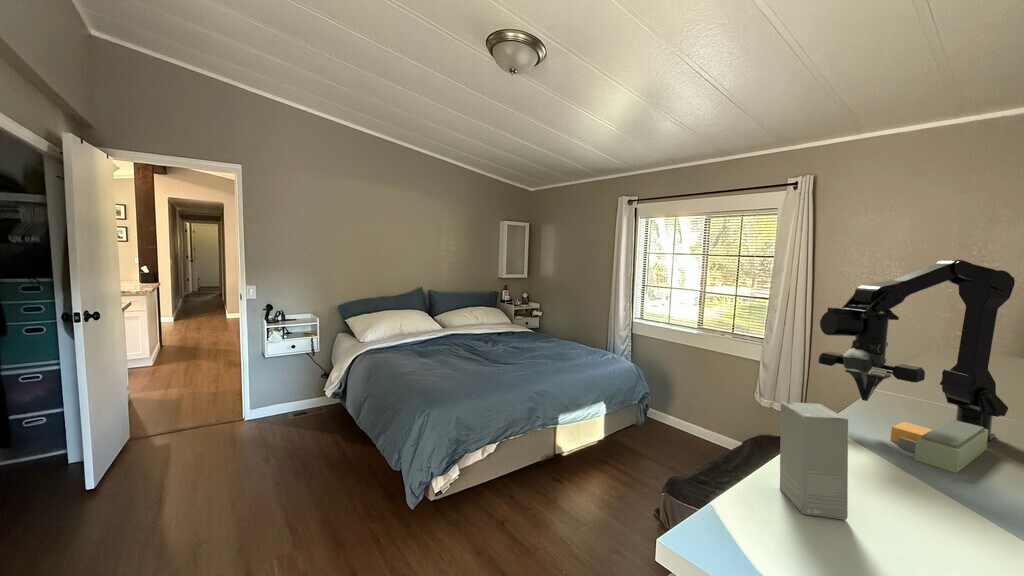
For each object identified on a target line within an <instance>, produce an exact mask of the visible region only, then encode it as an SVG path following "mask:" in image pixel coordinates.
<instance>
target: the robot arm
mask: <svg viewBox="0 0 1024 576" xmlns="http://www.w3.org/2000/svg"><path fill="white" fill-rule="evenodd" d="M947 281H948V282H949V283H951V284H953V285H955V286H957V287H958V295H959V297H960V298H961V300H962V302H963V303H964V305H965V310H964V316H963V323H962V329H961V336H960V341H959V346H958V347H959V348H958V355H957V360H956V364H954V366H952V368H950V369H943V370H942V373H941V374H942V375H941V380H940V383H939V386H941V391H942V393H943V394H944V397H945V400H946V402H947V403H948V404H952V405H954V406H956V417H955V420H957V421H961V422H965V423H969V424H973V425H977V426H981V427H984V429H987V430H988V439H987V442H990V441H992V440H993V439H995V438H996V436H997V435H996V433H992V426H993V417H997V418H998V417H1005V416H1006V415H1007V412H1008V410H1009V407H1008V406H1007V405H1006V403H1005V402H1003V400H1002V399H1001V398H1000V397H999V396H998V395H997V390H996V389H997V383H996V381H995V380H994V379H995V378H993V375H992V374H991V372H990V370H989V364H990V358H991V353H992V352H991V351H992V347H993V346H992V345H993V340H994V335H995V334H994V333H995V328H996V327H995V326H996V321H997V314H998V310H999V309H1000V307H1002V305H1004V304H1005V303H1006V302H1007V301H1008V300H1009V299H1010V298H1011V296H1012V292H1013V290H1014V288H1015V282H1016V281H1015V278H1014V276H1012V275H1011V274H1010V273H1009V272H1008V271H1007V270H1002V269H1000V270H999V269H995V268H989V267H986V266H981V265H979V264H978V265H977V264H974V263H971V262H969V261H966V260H963V259H941V260H939V261H937V262H935V263H934V264H932V265H931V264H930V265H928V266H926V267H924V268H920V269H918V270H915V271H913V272H909V273H908V274H905V275H902V276H900V277H897V278H895V279H891V280H886V281H879V282H878V281H876V282H872V283H867V284H863V285H860V286H858V287H856V289H855V290H854V293H853V295H852V296H851V297H850V298H849V299H848V300H847V301H846V303H845V304H844V305H843V306H842V307H841V308H840V307H832V306H829V307H827V312H825V313H824V314H823V315H822V317H821V319H819V320H820V321H819V325H820V329H821V331H822V332H823V334H824V335H826V336H835V337H837V336H838V337H839V336H840V337H854V340H852V344H851V347H850V348H849V349H847V351H845V352H844V353H842V352H841V353H840V352H836V351H826V352H822V353H820V354H819V355H818V361H817V362H818V364H820V365H824V366H830V367H833V366H834V365H837V364H838V365H843V367H844V370H845V371H844V372H845V373H847V374H849V375H850V376H851V377H852V378H853V379H854V381H855V384H856V386H857V389H858V392H859V395H860V398H861V400H862V401H865V402H868V401H869V399H870V398H871V396H872V395H873V393H874V392H875V390H876V389H877V388H878V386H879V385H880V384H881V383H882V381H883V380H885V379H889V378H891V377H892V376H893V377H894V378H895V379H896V380H900V381H905V382H911V383H918V382H922V381H925V376H926V371H925V370H924V369H923V367H921V366H916V365H911V364H903V363H902V364H898V365H894V366H893V365H888V364H887V358H886V352H887V347H888V345H889V342H887V341H888V339H887V338H888V332H889V330H888V329H889V328H888V327H889V321H899V320H900V317H899V316H898V315H896V314H895V313H894V312H893V311H892V309H894V308H895V307H897V306H898V305H901V304H902V303H903V302H904V300H905V299H906V298H907V297H909V296H911V295H913V294H916V293H918V292H921V291H924V290H928V289H929V288H932V287H934V286H937V285H939V284H942V283H944V282H947ZM869 372H870V373H869Z"/></svg>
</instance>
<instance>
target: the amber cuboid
mask: <svg viewBox="0 0 1024 576" xmlns="http://www.w3.org/2000/svg"><path fill="white" fill-rule="evenodd" d="M933 429H934V428H933ZM933 429H932V428H928V427H925V426H921V425H917V424H914V423H910V422H906V421H902V422H900V423H897V424H895V425H893V426H891V431H890V441H891V442H893V443H897V444H899V438H900V437H903V438H907V439H910V440H914V441H916V438H918V437H920V436H922V435H924V434H925V433H927V432H929V431H931V430H933Z"/></svg>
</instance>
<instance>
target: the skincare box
mask: <svg viewBox="0 0 1024 576" xmlns="http://www.w3.org/2000/svg"><path fill="white" fill-rule="evenodd" d="M779 423H780V425H779V426H780V444H779V445H780V446H779V447H780V448H779V450H780V451H779V489H780V491H782V493H783V494H784V495H785V496H786V497H787V498H788V499H789V500H790V501H791V502H792V504H793V505H795V507H796V508H797V509H798V510H799V512H801V514H803V515H807V516H813V517H815V516H817V517H824V518H831V519H839V520H844V521H847V519H848V515H849V514H848V507H849V506H848V497H849V496H848V493H849V492H848V491H849V490H848V487H849V486H848V485H849V484H848V483H849V479H848V477H849V476H848V475H849V474H848V473H849V471H848V470H849V462H848V461H849V444H848V443H849V419H848V418H847V417H844V416H842V415H841V414H839V413H837V412H835V411H833V410H832V409H830V408H828V407H826V406H824V405H823V404H821V403H810V402H809V403H808V402H791V401H789V402H788V401H781V402H780V422H779Z"/></svg>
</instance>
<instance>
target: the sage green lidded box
mask: <svg viewBox="0 0 1024 576" xmlns="http://www.w3.org/2000/svg"><path fill="white" fill-rule="evenodd" d="M987 439H988V430H987V429H984V427H981V426H977V425H973V424H969V423H965V422H961V421H957V420H956V419H949V420H947V421H945V422H944V423H942V424H941V425H939V426H937V427H935V428H933V430H931V431H929V432H927V433H925V434H924V435H922V436H920V437H918V438H916V441H914V440H910V439H907V438H903V437H900V438H899V443H898V446H897V447H898V448H902V449H904V450H905V449H906V450H909V451H911V452H914V458H913V459H914V461H915V462H916V461H917V462H919V461H920V462H919V463H922V464H925V465H929V466H933V467H935V468H938V469H941V470H944V471H948V472H950V473H954V474H957V473H959V472H960V471H961V470H963V469H964V468H965V467H966V466H967V465H969V464H970V463H971V462H973V461H974V460H975V459H976V458H978V457H979V456H980V455H982V454H983V453H984V452H985V451H986V450H987V446H988V441H987Z"/></svg>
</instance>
